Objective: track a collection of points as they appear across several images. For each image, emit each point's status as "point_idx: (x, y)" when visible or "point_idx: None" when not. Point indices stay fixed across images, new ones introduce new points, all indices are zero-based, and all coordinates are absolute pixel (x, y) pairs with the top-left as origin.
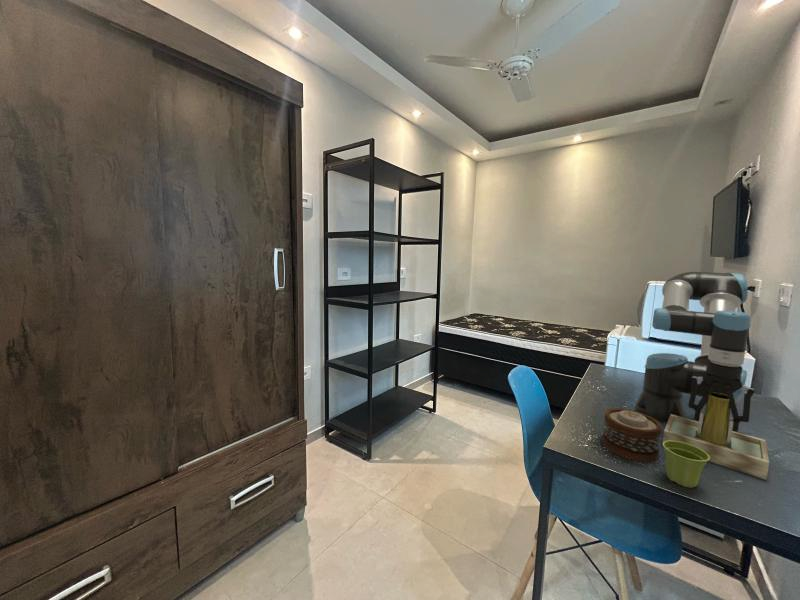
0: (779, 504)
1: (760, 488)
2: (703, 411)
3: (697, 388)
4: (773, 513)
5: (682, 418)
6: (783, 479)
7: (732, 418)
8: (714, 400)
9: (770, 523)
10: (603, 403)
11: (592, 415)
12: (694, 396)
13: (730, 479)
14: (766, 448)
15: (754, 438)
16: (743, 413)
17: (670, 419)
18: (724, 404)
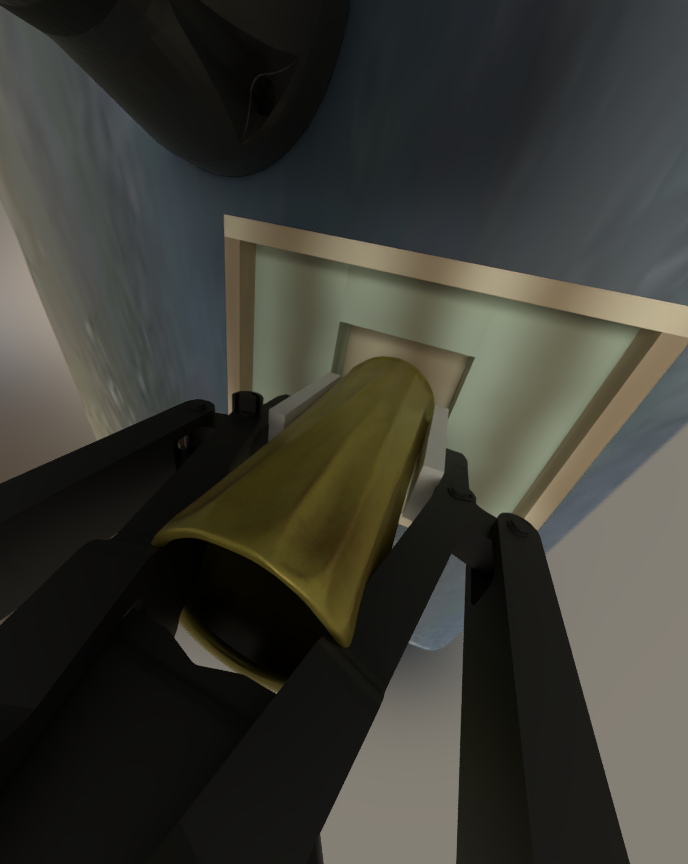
0: (464, 598)
1: (453, 555)
2: (281, 424)
3: (37, 571)
4: (432, 619)
5: (274, 247)
6: (571, 496)
7: (437, 471)
8: (238, 612)
9: (412, 637)
10: (36, 104)
11: (89, 312)
12: (135, 511)
13: (395, 537)
14: (601, 450)
15: (627, 324)
16: (464, 617)
17: (231, 315)
18: (313, 623)
